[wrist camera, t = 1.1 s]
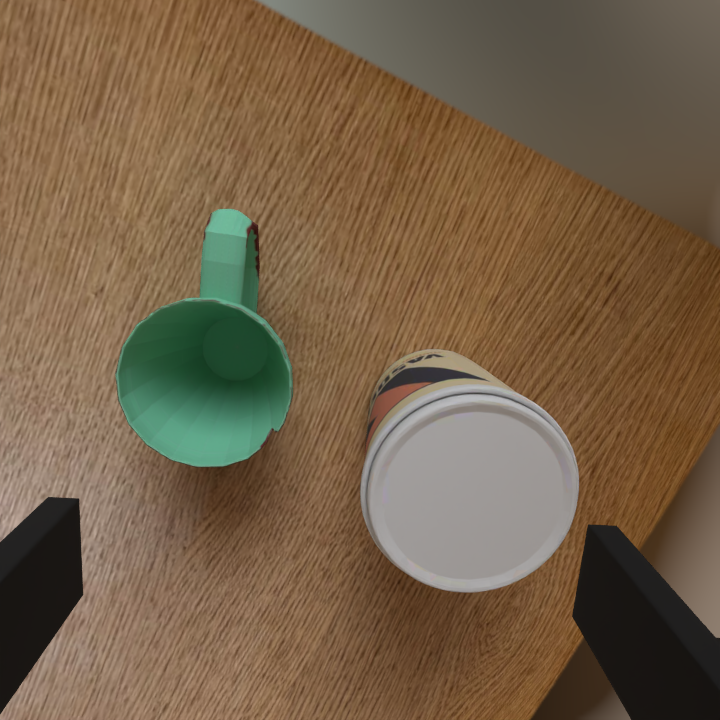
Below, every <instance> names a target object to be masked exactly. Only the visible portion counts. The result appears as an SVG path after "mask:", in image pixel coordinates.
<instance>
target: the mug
mask: <svg viewBox="0 0 720 720" xmlns="http://www.w3.org/2000/svg"><path fill="white" fill-rule="evenodd" d="M259 268H260V266H259V238H258V225H257V224H255V223H254V222H253V221H251V220H250V219H249V218H248V217H246V216H245V215H244V214H242V213H241V212H239V211H237V210H233V209H219V210H217V211H215V212H213V213H211V214H210V217H209V220H208V223H207V226H206V228H205V231H204V240H203V251H202V263H201V281H200V298H187V299H184V300H181V301H178V302H175V303H172V304H169V305H166V306H163V307H160V308H158V309H157V310H156V311H154V312H153V313H152V314H150V315H149V316H148V317H146V318H145V319H144V320H142V321H141V322H140V323H138V324H137V325H136V326H135V328H134V330H133V331H132V333H131V334H130V336H129V337H128V339H127V340H126V342H125V343H124V345H123V346H122V349H121V353H120V357H119V361H118V365H117V369H116V384H117V394H118V401H119V403H120V405H121V408H122V410H123V412H124V415H125V417H126V419H127V421H128V424H129V425H130V426H131V428H132V429H133V430H134V431H135V432H136V433H137V434H138V436H139V437H140V438H141V439H142V440H143V441H144V442H145V444H146V445H147V446H149V447H150V448H152V449H154V450H155V451H157V452H158V453H160V454H162V455H163V456H165V457H166V458H168V459H169V460H172V461H176V462H179V463H183V464H186V465H190V466H193V467H225V466H228V465H231V464H234V463H237V462H240V461H244V460H247V459H249V458H250V457H251V456H253V455H254V454H255V453H257V452H258V451H259V450H260V449H262V447H263V446H264V445H265V444H266V443H267V441H268V438H269V436H270V434H271V433H272V431H273V429H274V431H275V432H278V431H279V430H280V429H281V427H282V426H283V425H284V423H285V420H286V416H287V413H288V410H289V407H290V404H291V400H292V397H293V379H292V366H291V363H290V360H289V358H288V355H287V352H286V349H285V347H284V344H283V342H282V341H281V339H280V338H279V337H278V335H277V334H276V333H275V332H274V330H273V329H272V328H271V326H270V325H269V324H268V323H267V321H266V320H265V319H263V318H262V317H260V316H259V315H257V299H258V283H259Z"/></svg>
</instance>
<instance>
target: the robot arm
mask: <svg viewBox="0 0 720 720" xmlns="http://www.w3.org/2000/svg"><path fill="white" fill-rule="evenodd" d="M82 596H83V581H82V557H81V534H80V510H79V499H75V498H55V497H48V498H47V499H46V500H45V501H44V502H43V503H41V504H40V505H39V506H38V507H37V508H36V509H35V510H34V511H33V512H32V513H31V514H30V515H29V516H28V517H27V518H26V519H24V520H23V521H22V522H21V523H20V524H19V525H18V526H17V527H16V528H15V529H14V530H13V531H12V532H11V533H10V534H9V535H7V536H6V537H5V538H4V539H3V540H2V541H1V542H0V714H1V712H2V711H3V709H4V708H5V707H6V705H7V704H8V702H9V701H10V699H11V698H12V696H13V695H14V694H15V692H16V691H17V689H18V688H19V686H20V685H21V683H22V682H23V681H24V679H25V678H26V676H27V675H28V673H29V672H30V670H31V669H32V668H33V666H34V665H35V663H36V662H37V660H38V659H39V658H40V656H41V655H42V653H43V652H44V650H45V649H46V647H47V646H48V645H49V643H50V642H51V640H52V639H53V637H54V636H55V634H56V633H57V632H58V630H59V629H60V627H61V626H62V624H63V623H64V621H65V620H66V619H67V617H68V616H69V614H70V613H71V611H72V610H73V608H74V607H75V606H76V604H77V603H78V601H79V600H80V598H81V597H82ZM572 617H573V619H574V620H575V622H576V624H577V626H578V627H579V629H580V631H581V633H582V634H583V636H584V638H585V639H586V641H587V643H588V645H589V646H590V648H591V650H592V652H593V653H594V655H595V657H596V659H597V660H598V662H599V664H600V666H601V667H602V669H603V671H604V672H605V674H606V676H607V678H608V680H609V681H610V683H611V685H612V687H613V688H614V690H615V692H616V694H617V695H618V697H619V699H620V701H621V702H622V704H623V706H624V707H625V709H626V711H627V713H628V714H629V716H630V718H631V720H720V638H715V636H714V635H713V634H712V633H711V632H710V631H709V630H708V629H707V627H706V626H705V625H704V624H703V623H702V622H701V621H700V620H699V618H698V617H697V616H696V615H695V614H694V613H693V612H692V610H691V609H690V608H689V607H688V606H687V605H686V604H685V603H684V601H683V600H682V599H681V598H680V597H679V596H678V595H677V594H676V592H675V591H674V590H673V589H672V588H671V587H670V586H669V584H668V583H667V582H666V581H665V580H664V579H663V578H662V577H661V575H660V574H659V573H658V572H657V571H656V570H655V569H654V568H653V567H652V565H651V564H650V563H649V562H648V561H647V560H646V559H645V558H644V556H643V555H642V554H641V553H640V552H639V551H638V550H637V548H636V547H635V546H634V545H633V544H632V543H631V542H630V540H629V539H628V538H627V537H626V536H625V535H624V534H623V533H622V531H621V530H620V529H619V528H618V527H617V526H608V525H588V527H587V533H586V539H585V545H584V551H583V556H582V562H581V568H580V574H579V580H578V586H577V591H576V597H575V603H574V609H573V615H572Z"/></svg>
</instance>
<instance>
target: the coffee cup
mask: <svg viewBox="0 0 720 720" xmlns="http://www.w3.org/2000/svg"><path fill="white" fill-rule="evenodd" d="M578 492H579V475H578V467H577V462H576V458H575V455H574V452H573V449H572V447H571V445H570V443H569V441H568V438H567V437H566V435H565V434H564V432H563V430H562V429H561V427H560V426H559V425H558V424H557V422H556V421H555V420H554V419H553V418H552V417H551V416H550V415H549V414H548V413H547V412H546V411H545V410H544V409H542V408H541V407H540V406H538V405H537V404H536V403H534V402H532V401H531V400H529V399H527V398H525V397H524V396H522V395H520V394H518V393H516V392H515V391H514V390H512V389H511V388H510V387H508V386H507V385H506V384H504V383H503V382H501V381H500V380H499V379H497V378H496V377H494V376H493V375H492V374H490V373H489V372H487V371H486V370H485V369H483V368H482V367H480V366H479V365H477V364H476V363H474V362H473V361H471V360H469V359H468V358H466V357H464V356H462V355H460V354H457V353H455V352H451V351H447V350H439V349H431V350H423V351H418V352H415V353H412V354H409V355H407V356H405V357H403V358H401V359H400V360H398V361H397V362H395V363H394V364H393V365H392V366H390V367H389V368H388V369H387V370H386V371H385V372H384V374H383V375H382V376H381V378H380V379H379V380H378V382H377V384H376V386H375V388H374V391H373V393H372V396H371V400H370V406H369V412H368V423H367V434H366V447H365V461H364V466H363V471H362V477H361V485H360V499H361V507H362V513H363V517H364V520H365V523H366V526H367V528H368V531H369V533H370V535H371V537H372V539H373V540H374V542H375V544H376V545H377V547H378V548H379V549H380V551H381V552H382V553H383V554H384V555H385V556H386V557H387V558H388V560H389V561H390V562H392V563H393V564H394V565H395V566H396V567H398V568H399V569H400V570H402V571H403V572H405V573H406V574H408V575H409V576H411V577H413V578H414V579H416V580H418V581H420V582H422V583H423V584H426V585H429V586H431V587H434V588H438V589H441V590H446V591H452V592H464V593H467V592H482V591H488V590H493V589H498V588H501V587H504V586H507V585H509V584H512V583H514V582H517V581H519V580H520V579H522V578H524V577H526V576H527V575H529V574H530V573H532V572H533V571H535V570H536V569H538V568H539V567H540V566H541V565H542V564H543V563H545V562H546V561H547V560H548V559H549V558H550V557H551V556H552V555H553V553H554V552H555V551H556V550H557V548H558V547H559V546H560V544H561V543H562V541H563V540H564V538H565V536H566V534H567V532H568V531H569V529H570V526H571V524H572V521H573V518H574V514H575V511H576V507H577V499H578Z"/></svg>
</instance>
